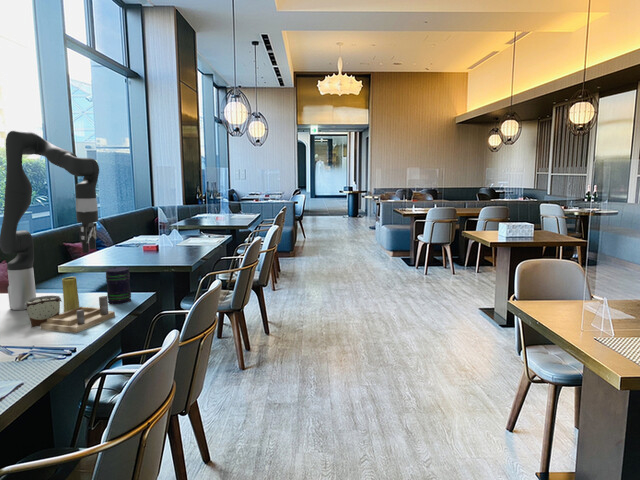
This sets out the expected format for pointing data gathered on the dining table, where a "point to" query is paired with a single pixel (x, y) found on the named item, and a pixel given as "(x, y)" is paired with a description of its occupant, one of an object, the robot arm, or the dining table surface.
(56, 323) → the carrier board
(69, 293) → the vase
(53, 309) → the half lattice cake
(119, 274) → the storage jar
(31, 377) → the dining table surface
